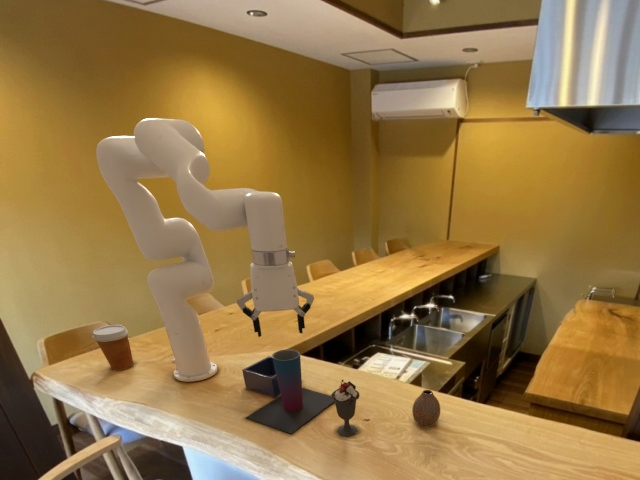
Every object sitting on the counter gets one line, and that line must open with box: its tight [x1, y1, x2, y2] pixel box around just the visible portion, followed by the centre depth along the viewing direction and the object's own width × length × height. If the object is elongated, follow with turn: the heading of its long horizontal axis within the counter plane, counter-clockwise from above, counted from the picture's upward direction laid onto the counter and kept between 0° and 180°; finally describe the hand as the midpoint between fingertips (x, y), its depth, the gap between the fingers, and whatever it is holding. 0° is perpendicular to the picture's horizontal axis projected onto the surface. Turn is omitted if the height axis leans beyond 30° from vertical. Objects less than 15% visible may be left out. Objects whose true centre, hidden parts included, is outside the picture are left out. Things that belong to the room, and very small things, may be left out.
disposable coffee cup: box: [92, 324, 135, 371], centre depth 131 cm, size 10×10×12 cm
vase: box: [411, 389, 441, 428], centre depth 103 cm, size 7×7×9 cm
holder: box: [241, 355, 281, 399], centre depth 121 cm, size 11×11×6 cm
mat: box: [245, 387, 335, 435], centre depth 112 cm, size 15×20×1 cm
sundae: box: [330, 379, 360, 438], centre depth 98 cm, size 7×7×15 cm
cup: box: [271, 348, 303, 412], centre depth 107 cm, size 7×7×15 cm
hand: (280, 333), depth 101 cm, fingers open, 9 cm apart
